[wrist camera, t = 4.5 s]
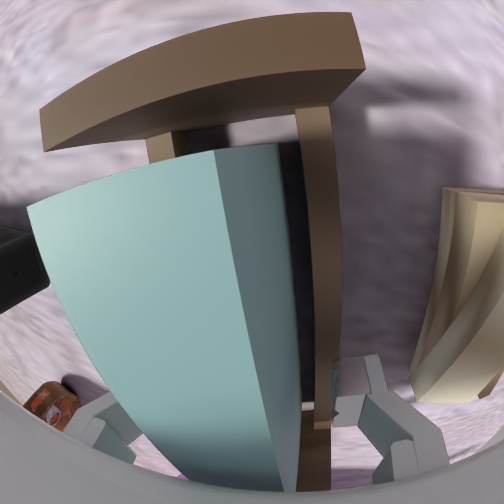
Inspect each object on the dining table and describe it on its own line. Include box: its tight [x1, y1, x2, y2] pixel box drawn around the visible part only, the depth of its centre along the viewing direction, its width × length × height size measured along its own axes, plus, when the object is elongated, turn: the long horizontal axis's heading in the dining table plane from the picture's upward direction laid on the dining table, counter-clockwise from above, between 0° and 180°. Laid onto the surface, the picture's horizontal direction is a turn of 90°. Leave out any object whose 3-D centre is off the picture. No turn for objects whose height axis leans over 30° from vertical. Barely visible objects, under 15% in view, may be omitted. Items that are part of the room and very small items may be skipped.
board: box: [27, 143, 302, 492], centre depth 8 cm, size 14×2×8 cm, turn 9°
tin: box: [23, 381, 81, 432], centre depth 18 cm, size 15×3×8 cm, turn 157°
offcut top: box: [409, 230, 504, 403], centre depth 7 cm, size 8×4×2 cm, turn 164°
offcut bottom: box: [409, 187, 504, 375], centre depth 10 cm, size 10×5×2 cm, turn 7°
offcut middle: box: [416, 191, 504, 369], centre depth 8 cm, size 9×5×2 cm, turn 6°
